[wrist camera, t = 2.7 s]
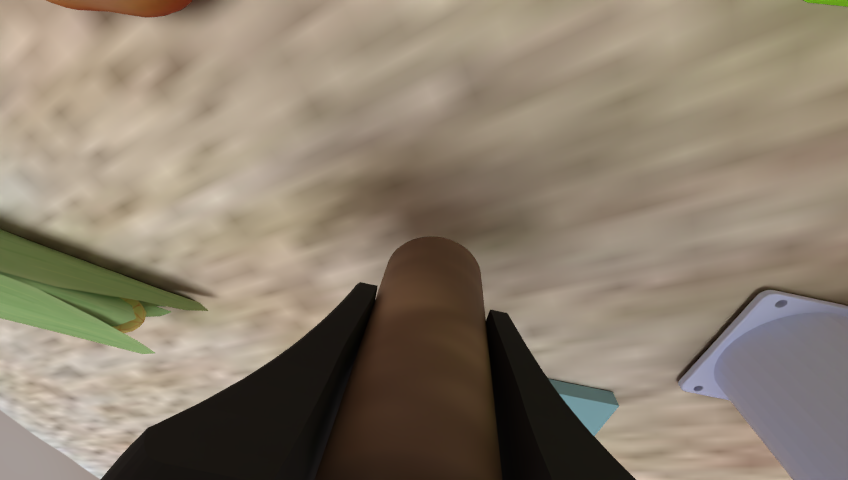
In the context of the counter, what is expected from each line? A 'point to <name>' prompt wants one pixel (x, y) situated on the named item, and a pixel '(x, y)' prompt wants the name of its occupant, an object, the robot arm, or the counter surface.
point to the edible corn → (76, 295)
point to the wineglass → (829, 2)
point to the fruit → (127, 6)
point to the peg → (420, 376)
